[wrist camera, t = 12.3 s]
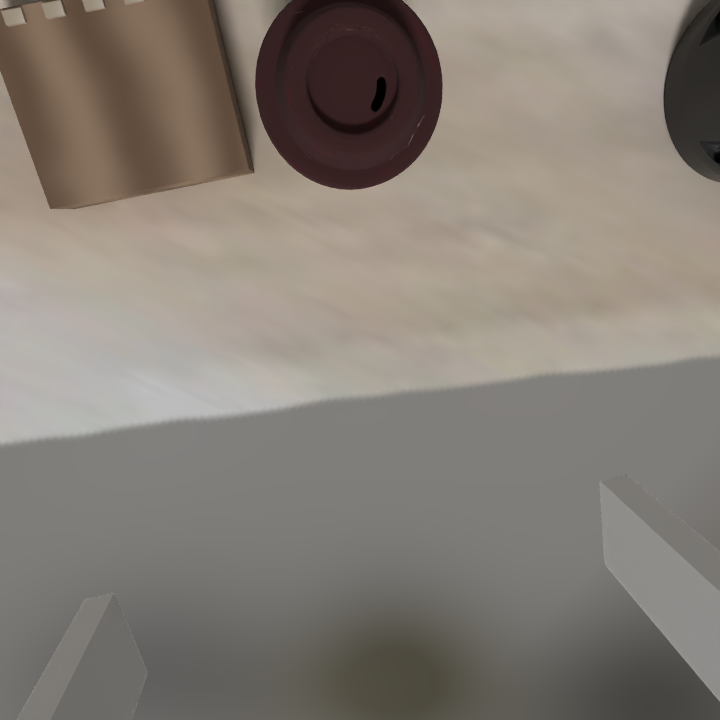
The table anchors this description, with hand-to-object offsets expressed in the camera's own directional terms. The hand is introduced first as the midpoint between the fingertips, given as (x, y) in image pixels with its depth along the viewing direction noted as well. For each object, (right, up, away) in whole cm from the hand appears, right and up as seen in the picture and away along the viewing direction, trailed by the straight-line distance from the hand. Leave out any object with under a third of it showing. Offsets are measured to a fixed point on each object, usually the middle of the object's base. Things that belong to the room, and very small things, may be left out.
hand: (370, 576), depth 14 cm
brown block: (-17, +24, +24) cm, 38 cm away
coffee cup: (-2, +24, +26) cm, 35 cm away
